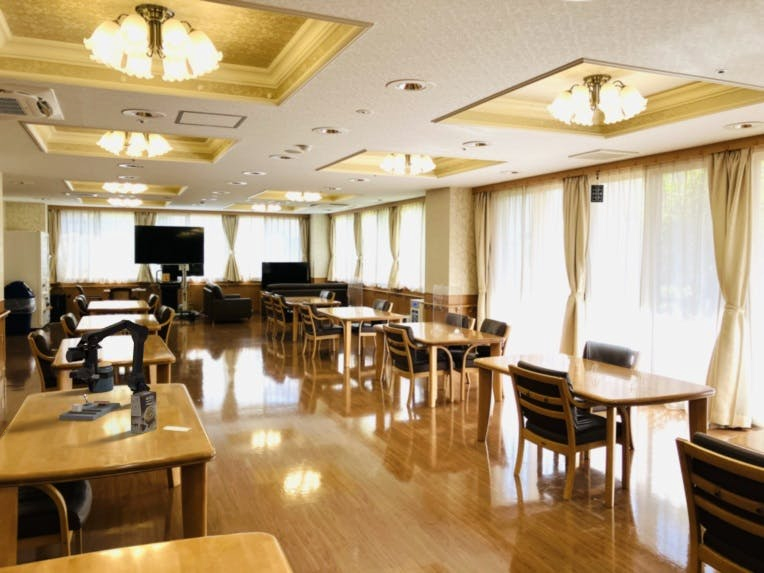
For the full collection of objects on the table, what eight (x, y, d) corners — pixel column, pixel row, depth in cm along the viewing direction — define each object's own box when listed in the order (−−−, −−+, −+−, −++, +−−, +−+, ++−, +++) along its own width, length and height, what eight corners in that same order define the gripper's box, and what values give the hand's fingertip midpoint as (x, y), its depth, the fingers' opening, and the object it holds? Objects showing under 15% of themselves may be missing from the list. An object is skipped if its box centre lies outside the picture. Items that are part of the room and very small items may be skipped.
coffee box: (142, 434, 247) (142, 396, 245) (130, 432, 249) (129, 394, 248) (157, 428, 255) (157, 391, 254) (145, 426, 257) (144, 390, 256)
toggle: (89, 401, 284) (86, 393, 283) (87, 402, 282) (84, 394, 282) (87, 402, 284) (83, 394, 284) (85, 403, 282) (81, 395, 282)
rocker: (109, 403, 285) (109, 401, 286) (101, 403, 279) (102, 400, 279) (101, 403, 286) (101, 400, 286) (93, 403, 279) (94, 400, 279)
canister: (118, 387, 327) (118, 356, 326) (105, 393, 314) (104, 360, 313) (96, 386, 328) (95, 355, 327) (82, 392, 315) (81, 359, 314)
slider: (82, 410, 272) (81, 403, 272) (78, 412, 269) (77, 405, 269) (75, 410, 272) (75, 403, 272) (71, 412, 269) (71, 405, 269)
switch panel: (120, 407, 287) (119, 401, 287) (93, 420, 265) (93, 414, 264) (88, 405, 289) (88, 400, 289) (59, 419, 266) (59, 413, 266)
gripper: (60, 362, 264) (62, 396, 265) (101, 363, 263) (102, 397, 264) (75, 357, 275) (76, 390, 276) (114, 358, 274) (115, 391, 275)
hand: (92, 392), depth 272 cm, fingers closed
